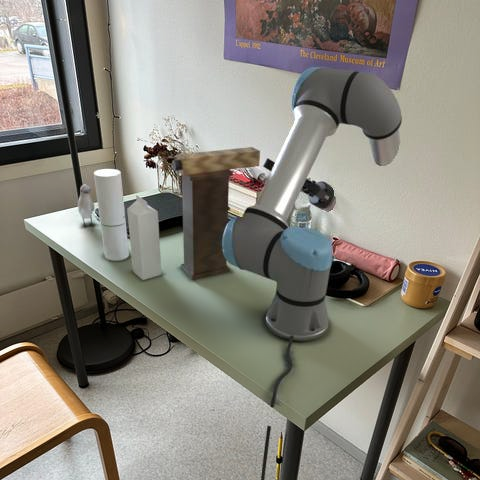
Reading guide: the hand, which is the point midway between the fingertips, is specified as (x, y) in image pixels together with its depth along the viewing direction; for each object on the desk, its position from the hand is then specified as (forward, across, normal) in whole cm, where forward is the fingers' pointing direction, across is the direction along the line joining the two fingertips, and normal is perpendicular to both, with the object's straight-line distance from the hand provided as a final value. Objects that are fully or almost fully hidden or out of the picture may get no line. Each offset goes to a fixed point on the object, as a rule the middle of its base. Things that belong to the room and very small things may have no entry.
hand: (278, 169), depth 132 cm
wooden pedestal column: (+6, 0, -35) cm, 35 cm away
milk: (+20, +5, -43) cm, 47 cm away
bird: (+26, +45, -46) cm, 69 cm away
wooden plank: (+17, 0, -8) cm, 19 cm away
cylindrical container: (+24, +19, -45) cm, 54 cm away
